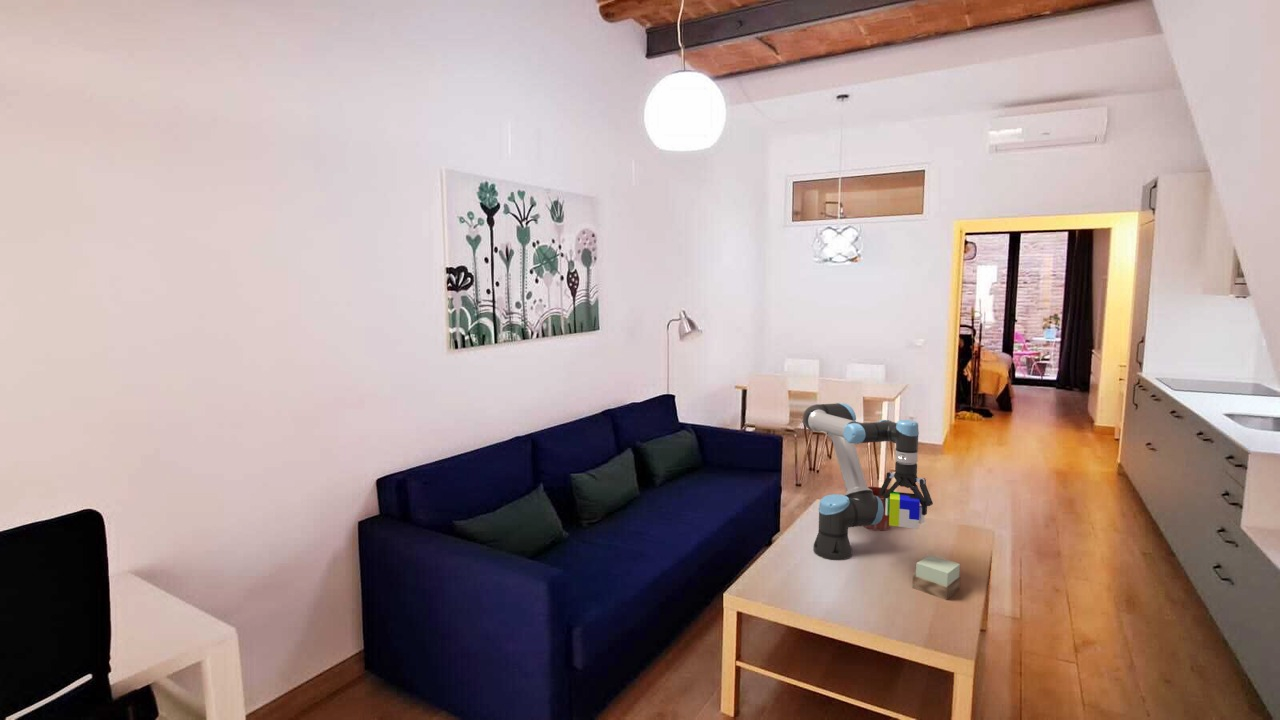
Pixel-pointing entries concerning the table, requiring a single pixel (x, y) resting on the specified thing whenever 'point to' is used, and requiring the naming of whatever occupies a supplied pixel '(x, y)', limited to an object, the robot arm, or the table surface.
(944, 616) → the table surface
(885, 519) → the flower pot
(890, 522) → the puzzle toy
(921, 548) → the table surface
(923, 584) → the bottom slab
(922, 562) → the top slab
